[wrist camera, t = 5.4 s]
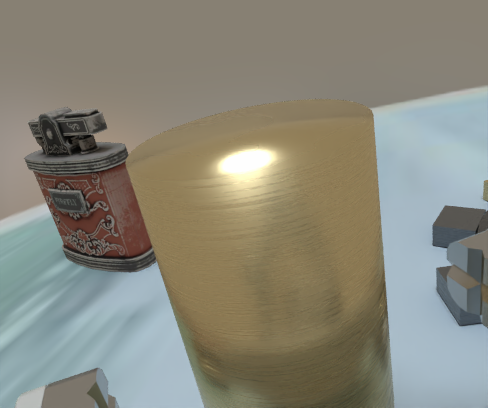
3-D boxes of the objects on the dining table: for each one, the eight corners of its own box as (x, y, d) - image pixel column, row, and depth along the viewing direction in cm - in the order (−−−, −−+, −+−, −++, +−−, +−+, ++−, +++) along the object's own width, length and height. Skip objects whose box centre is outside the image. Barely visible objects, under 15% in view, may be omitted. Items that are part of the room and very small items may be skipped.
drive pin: (275, 639, 10) (129, 208, 5) (227, 466, 14) (122, 138, 9) (440, 555, 10) (433, 121, 6) (350, 415, 14) (306, 90, 10)
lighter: (54, 260, 30) (-6, 122, 26) (92, 236, 32) (42, 107, 28) (135, 278, 25) (77, 114, 22) (171, 248, 28) (125, 98, 24)
